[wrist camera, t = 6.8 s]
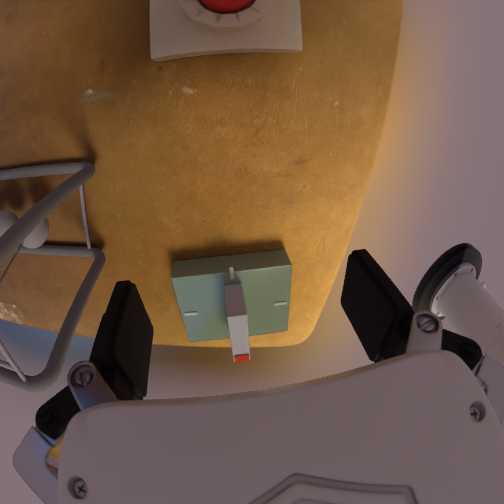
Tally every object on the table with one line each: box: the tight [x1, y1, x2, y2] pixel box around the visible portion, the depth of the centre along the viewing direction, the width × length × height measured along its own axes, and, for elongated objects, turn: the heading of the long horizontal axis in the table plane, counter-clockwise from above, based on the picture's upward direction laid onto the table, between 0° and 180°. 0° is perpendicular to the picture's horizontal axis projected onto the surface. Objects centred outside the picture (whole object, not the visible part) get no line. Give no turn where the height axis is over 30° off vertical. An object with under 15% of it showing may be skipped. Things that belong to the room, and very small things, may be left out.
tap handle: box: [224, 284, 251, 362], centre depth 27 cm, size 7×2×5 cm, turn 2°
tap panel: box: [171, 249, 292, 342], centre depth 30 cm, size 12×11×3 cm
